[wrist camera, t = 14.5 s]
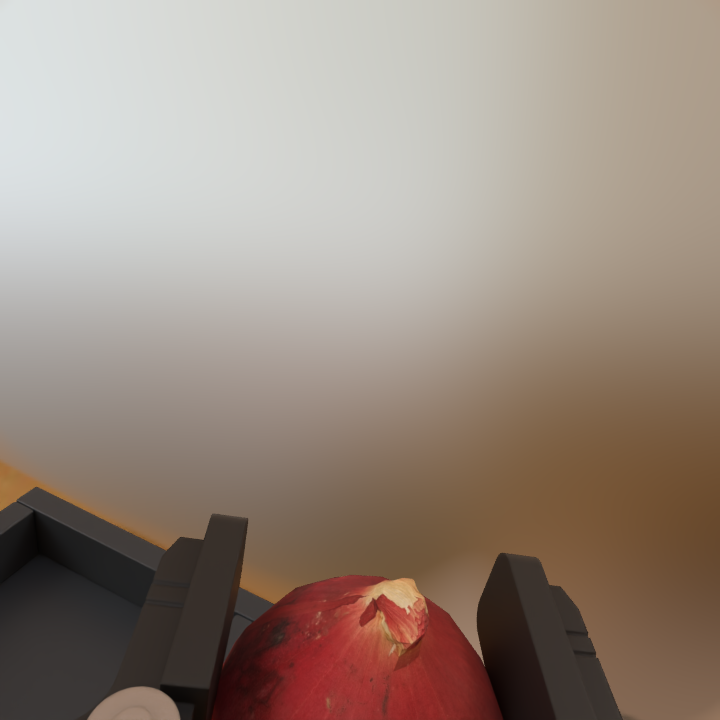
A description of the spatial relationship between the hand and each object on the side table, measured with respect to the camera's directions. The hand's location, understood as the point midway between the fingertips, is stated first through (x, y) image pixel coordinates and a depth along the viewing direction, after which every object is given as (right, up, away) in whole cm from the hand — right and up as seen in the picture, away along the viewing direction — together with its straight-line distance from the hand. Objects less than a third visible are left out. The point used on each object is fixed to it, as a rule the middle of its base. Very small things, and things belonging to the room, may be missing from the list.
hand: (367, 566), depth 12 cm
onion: (-1, -7, +1) cm, 7 cm away
